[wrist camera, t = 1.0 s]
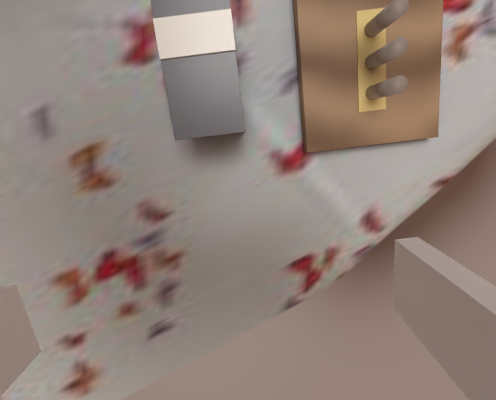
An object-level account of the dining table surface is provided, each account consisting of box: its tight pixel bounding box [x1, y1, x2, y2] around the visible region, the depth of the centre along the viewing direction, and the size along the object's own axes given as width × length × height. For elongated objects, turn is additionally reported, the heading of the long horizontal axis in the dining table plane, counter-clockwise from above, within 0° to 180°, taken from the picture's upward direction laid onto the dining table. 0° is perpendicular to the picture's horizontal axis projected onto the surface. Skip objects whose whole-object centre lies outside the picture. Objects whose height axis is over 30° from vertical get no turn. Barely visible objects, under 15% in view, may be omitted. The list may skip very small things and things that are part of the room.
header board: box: [293, 0, 443, 153], centre depth 23 cm, size 14×12×6 cm
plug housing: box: [151, 0, 245, 140], centre depth 22 cm, size 9×5×7 cm, turn 7°
